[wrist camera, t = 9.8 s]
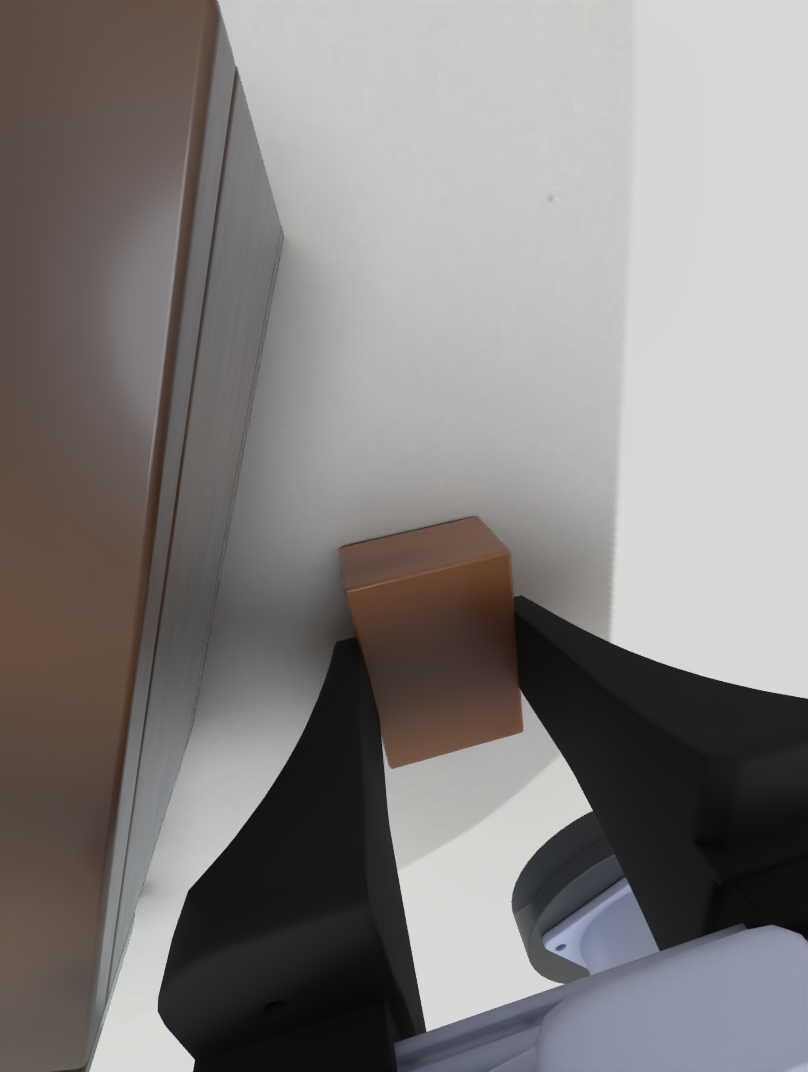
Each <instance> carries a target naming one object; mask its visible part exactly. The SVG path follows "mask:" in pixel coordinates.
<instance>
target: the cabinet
mask: <svg viewBox="0 0 808 1072" xmlns="http://www.w3.org/2000/svg"><path fill="white" fill-rule="evenodd" d="M283 237H284V234H283V230H282V227H281V225H280V221H279V217H278V213H277V210H276V206H275V202H274V199H273V195H272V192H271V188H270V184H269V181H268V177H267V173H266V170H265V166H264V162H263V159H262V155H261V151H260V148H259V144H258V141H257V137H256V133H255V130H254V126H253V122H252V119H251V115H250V111H249V108H248V104H247V101H246V97H245V93H244V90H243V86H242V82H241V79H240V75H239V71H238V68H237V67H236V65H235V62H234V57H233V53H232V49H231V46H230V42H229V38H228V35H227V31H226V28H225V24H224V20H223V17H222V13H221V10H220V6H219V2H218V1H217V0H0V1072H53V1071H62V1070H71V1069H79V1068H81V1067H83V1066H84V1065H85V1064H86V1062H87V1061H88V1059H89V1055H90V1052H91V1049H92V1046H93V1043H94V1039H95V1036H96V1033H97V1030H98V1027H99V1024H100V1020H101V1017H102V1014H103V1011H104V1005H105V1001H106V999H107V998H108V995H109V992H110V989H111V986H112V982H113V979H114V976H115V973H116V970H117V966H118V963H119V960H120V957H121V954H122V950H123V947H124V944H125V941H126V938H127V935H128V931H129V928H130V925H131V922H132V919H133V915H134V912H135V909H136V906H137V903H138V899H139V896H140V893H141V890H142V887H143V884H144V880H145V877H146V874H147V871H148V868H149V864H150V861H151V858H152V855H153V852H154V848H155V845H156V842H157V839H158V836H159V832H160V829H161V826H162V823H163V820H164V817H165V813H166V810H167V807H168V804H169V801H170V797H171V794H172V791H173V788H174V785H175V781H176V778H177V775H178V772H179V769H180V766H181V762H182V759H183V756H184V753H185V749H186V747H187V743H188V740H189V737H190V734H191V730H192V725H193V720H194V714H195V709H196V704H197V698H198V693H199V688H200V682H201V677H202V671H203V666H204V661H205V655H206V650H207V645H208V639H209V634H210V629H211V623H212V618H213V612H214V607H215V602H216V596H217V591H218V586H219V580H220V575H221V570H222V564H223V559H224V554H225V548H226V543H227V537H228V532H229V527H230V521H231V516H232V511H233V505H234V500H235V495H236V489H237V484H238V478H239V473H240V468H241V462H242V457H243V452H244V446H245V441H246V436H247V430H248V425H249V419H250V414H251V409H252V403H253V398H254V393H255V387H256V382H257V377H258V371H259V366H260V360H261V355H262V350H263V344H264V339H265V334H266V328H267V323H268V318H269V312H270V307H271V301H272V296H273V291H274V285H275V280H276V275H277V269H278V264H279V259H280V253H281V248H282V243H283Z"/></svg>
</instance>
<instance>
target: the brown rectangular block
mask: <svg viewBox="0 0 808 1072" xmlns="http://www.w3.org/2000/svg"><path fill="white" fill-rule="evenodd" d="M339 556H340V564H341V573H342V581H343V589H344V594H345V598H346V602H347V606H348V610H349V614H350V618H351V621H352V625H353V629H354V633H355V637H356V641H357V645H358V648H359V650H360V651H361V653H362V657H363V661H364V665H365V669H366V672H367V676H368V680H369V684H370V688H371V692H372V696H373V700H374V704H375V707H376V711H377V715H378V719H379V723H380V727H381V737H382V741H383V745H384V749H385V753H386V756H387V760H388V764H389V767H390V768H391V769H394V768H397V767H401V766H405V765H408V764H412V763H415V762H419V761H422V760H426V759H429V758H433V757H436V756H440V755H443V754H447V753H451V752H454V751H458V750H461V749H465V748H468V747H472V746H475V745H479V744H482V743H486V742H489V741H493V740H496V739H500V738H504V737H507V736H511V735H514V734H518V733H521V732H523V719H522V706H521V692H520V688H519V674H518V660H517V647H516V633H515V619H514V611H515V609H514V595H513V581H512V567H511V553H510V551H509V549H508V548H507V547H506V546H505V545H504V544H503V543H502V542H501V541H500V540H499V539H498V538H497V537H496V536H495V534H494V533H493V532H492V531H491V530H490V529H489V528H488V527H487V526H486V525H485V524H484V523H483V522H482V521H481V520H480V519H479V518H478V517H472V518H467V519H463V520H459V521H454V522H450V523H445V524H441V525H437V526H432V527H428V528H424V529H419V530H415V531H411V532H406V533H402V534H397V535H393V536H389V537H384V538H380V539H376V540H371V541H367V542H363V543H358V544H354V545H349V546H345V547H341V548H340V549H339Z"/></svg>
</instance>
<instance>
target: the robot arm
mask: <svg viewBox="0 0 808 1072" xmlns="http://www.w3.org/2000/svg"><path fill="white" fill-rule="evenodd" d="M514 609H515V611H514V619H515V633H516V647H517V660H518V674H519V688H520V690H521V691H522V693H523V694H524V696H525V698H526V699H527V701H528V702H529V704H530V705H531V707H532V709H533V710H534V712H535V713H536V715H537V716H538V718H539V719H540V721H541V723H542V724H543V726H544V727H545V729H546V730H547V732H548V733H549V735H550V736H551V738H552V739H553V741H554V743H555V744H556V746H557V747H558V749H559V750H560V752H561V753H562V755H563V756H564V758H565V759H566V761H567V763H568V765H569V766H570V768H571V770H572V771H573V773H574V775H575V777H576V778H577V781H578V783H579V784H580V787H581V788H582V790H583V792H584V794H585V796H586V798H587V800H588V802H589V804H590V806H591V808H592V809H593V812H594V814H595V816H596V818H597V820H598V822H599V824H600V826H601V828H602V830H603V832H604V834H605V836H606V838H607V840H608V842H609V844H610V846H611V848H612V850H613V852H614V854H615V856H616V858H617V860H618V862H619V864H620V866H621V869H622V871H623V873H624V875H625V876H624V877H623V878H621V879H620V880H618V881H617V882H616V883H614V884H613V885H611V886H610V887H609V888H607V889H606V890H604V891H603V892H602V893H600V894H599V895H597V896H596V897H595V898H593V899H592V900H590V901H589V902H588V903H586V904H585V905H583V906H582V907H580V908H579V909H578V910H576V911H575V912H573V913H572V914H571V915H569V916H568V917H566V918H565V919H564V920H562V921H561V922H559V923H558V924H557V925H555V926H554V927H552V928H551V929H550V930H548V931H547V932H546V933H544V935H543V936H542V941H543V944H544V946H545V948H546V949H547V950H549V951H551V952H553V953H555V954H558V955H560V956H562V957H564V958H566V959H568V960H570V961H572V962H574V963H576V964H578V965H581V966H583V967H585V968H587V969H588V970H589V972H590V976H587V977H584V978H582V979H579V980H576V981H573V982H570V983H567V984H564V985H561V986H558V987H556V988H553V989H550V990H547V991H544V992H541V993H538V994H535V995H533V996H529V997H527V998H524V999H521V1000H518V1001H515V1002H512V1003H509V1004H506V1005H504V1006H501V1007H498V1008H495V1009H492V1010H489V1011H486V1012H483V1013H480V1014H478V1015H475V1016H472V1017H469V1018H466V1019H463V1020H460V1021H457V1022H454V1023H451V1024H449V1025H446V1026H443V1027H440V1028H437V1029H434V1030H431V1031H428V1032H426V1028H425V1022H424V1017H423V1011H422V1006H421V1000H420V995H419V990H418V984H417V979H416V973H415V968H414V963H413V957H412V951H411V946H410V940H409V935H408V929H407V924H406V918H405V913H404V907H403V901H402V895H401V890H400V884H399V878H398V873H397V867H396V861H395V855H394V850H393V844H392V838H391V832H390V826H389V818H388V810H387V798H386V786H385V774H384V762H383V750H382V739H381V727H380V723H379V719H378V715H377V711H376V707H375V704H374V700H373V696H372V692H371V688H370V684H369V680H368V676H367V672H366V669H365V665H364V661H363V657H362V653H361V651H360V650H359V648H358V645H357V641H356V637H353V638H349V639H345V640H341V641H337V643H336V644H335V645H334V649H333V654H332V658H331V662H330V665H329V669H328V672H327V675H326V678H325V681H324V683H323V686H322V689H321V692H320V694H319V697H318V700H317V702H316V704H315V707H314V709H313V711H312V713H311V716H310V718H309V720H308V722H307V725H306V727H305V729H304V731H303V733H302V735H301V737H300V739H299V741H298V743H297V745H296V747H295V748H294V750H293V752H292V754H291V756H290V757H289V759H288V761H287V763H286V764H285V766H284V768H283V769H282V771H281V772H280V774H279V776H278V777H277V779H276V780H275V782H274V784H273V785H272V787H271V788H270V790H269V791H268V793H267V794H266V796H265V797H264V799H263V800H262V802H261V803H260V804H259V806H258V807H257V808H256V810H255V811H254V812H253V814H252V815H251V816H250V818H249V819H248V820H247V822H246V823H245V825H244V826H243V827H242V829H241V830H240V831H239V833H238V834H237V835H236V837H235V838H234V839H233V840H232V842H231V843H230V844H229V845H228V847H227V848H226V849H225V850H224V851H223V852H222V853H221V855H220V856H219V857H218V858H217V859H216V860H215V861H214V863H213V864H212V865H211V866H210V867H209V868H208V869H207V871H206V872H205V873H204V874H203V875H202V876H201V877H200V879H199V880H198V881H197V882H196V883H195V884H194V885H193V886H192V887H191V888H190V889H189V891H188V893H187V896H186V899H185V902H184V905H183V908H182V911H181V914H180V917H179V919H178V923H177V926H176V929H175V932H174V935H173V938H172V942H171V946H170V950H169V955H168V959H167V963H166V967H165V972H164V976H163V980H162V984H161V988H160V993H159V997H158V1013H159V1014H160V1017H161V1019H162V1020H163V1022H164V1024H165V1025H166V1027H167V1028H168V1029H169V1031H170V1032H171V1033H172V1034H173V1035H174V1036H175V1037H176V1038H177V1040H178V1041H179V1042H180V1043H181V1044H182V1045H183V1047H184V1048H185V1049H186V1050H187V1051H188V1052H189V1053H190V1054H191V1056H192V1057H193V1058H194V1059H195V1064H194V1070H193V1072H808V699H806V698H800V697H794V696H789V695H783V694H777V693H772V692H766V691H761V690H757V689H752V688H748V687H744V686H739V685H735V684H731V683H727V682H723V681H719V680H715V679H711V678H707V677H704V676H700V675H697V674H694V673H690V672H687V671H684V670H681V669H677V668H674V667H671V666H668V665H665V664H662V663H659V662H656V661H654V660H651V659H649V658H646V657H643V656H641V655H638V654H635V653H633V652H630V651H628V650H625V649H623V648H621V647H618V646H616V645H614V644H612V643H610V642H608V641H605V640H603V639H601V638H599V637H597V636H595V635H593V634H591V633H589V632H587V631H585V630H583V629H581V628H579V627H577V626H575V625H573V624H571V623H569V622H568V621H566V620H564V619H562V618H560V617H559V616H557V615H555V614H553V613H551V612H550V611H548V610H546V609H544V608H543V607H541V606H539V605H537V604H536V603H534V602H532V601H530V600H529V599H527V598H525V597H523V596H517V597H514Z"/></svg>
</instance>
